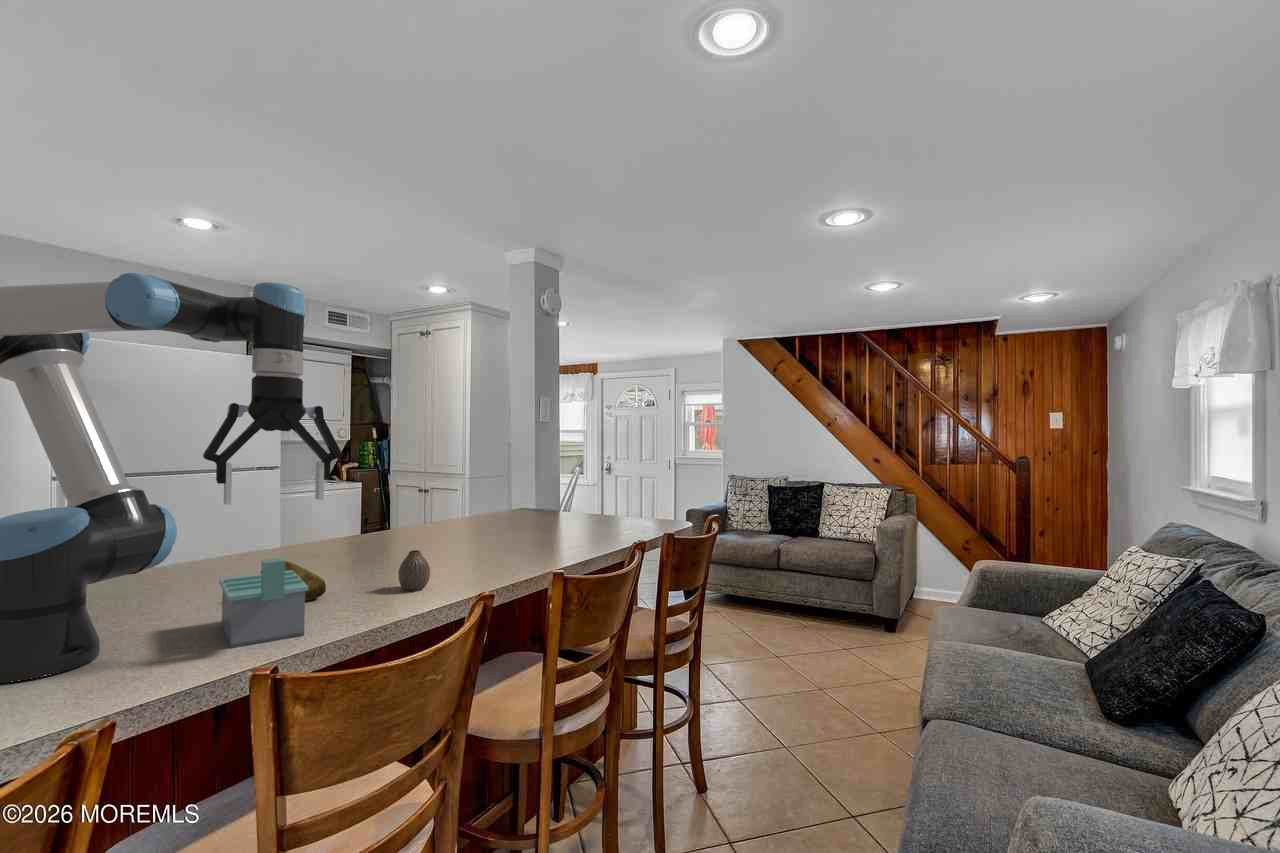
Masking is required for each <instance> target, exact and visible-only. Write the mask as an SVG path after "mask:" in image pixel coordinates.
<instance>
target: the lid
mask: <svg viewBox="0 0 1280 853" xmlns="http://www.w3.org/2000/svg"><path fill="white" fill-rule="evenodd" d="M285 561H286V560H285V559H284V558H283V557H277V558H267V559H261V567H260V568H261V571H260V573H261V574H260V573H256V574H248V575H247V574H246V575H238V576H230V577H229V576H228V577H220V578H219V581H218V582H219V586H220V587H221V589H223V591H224V593H225V595H226V597H227V599H228V601H234V600H241V599H249V598H256V597H260V598H261V600H262V601H267V600H274V599H281V598H283V597H284V594H286V593H294V592H301V591H308V586H307V585H306V584H305V583H304V582H303V581H302V580H301V579H300V578H299V576H298V575H297V574H296V573H295V572H294V571H293V570H289V571H285Z"/></svg>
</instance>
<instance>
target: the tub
mask: <svg viewBox="0 0 1280 853" xmlns="http://www.w3.org/2000/svg"><path fill="white" fill-rule="evenodd" d="M221 589H222V588H221ZM221 591H222V595H221V596H222V597H221V598H222V599H221V600H222V601H221V604H222V605H221V627H222V629H223V631H224V635H225V637H226V639H228V640H227V642H228V645H229V644H230V645H229V647H230V648H231V647H235V648H238V647H237V646H241V647H245V646H244V645H246V646H251V645H250V644H252V645H256V643H258V644H263V643H269V642H273V641H280V640H286V638H287V639H291V638H298V637H303V636H305V613H306V612H305V611H306V610H305V608H306V604H305V603H306V601H305V591H301V592H294V593H286V594H284V597H283V598H281V599H274V600H267V601H262V600H261V598H260V597H256V598H249V599H241V600H234V601H228V599H227V597H226V595H225V593H224V591H223V589H222V590H221Z"/></svg>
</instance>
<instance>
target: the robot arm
mask: <svg viewBox="0 0 1280 853" xmlns="http://www.w3.org/2000/svg"><path fill="white" fill-rule="evenodd" d="M305 316H306V312H305V295H304V292H303V291H302V290H301V289H300V288H299V287H296V286H294V285H290V284H286V283H279V282H269V281H267V282H265V281H264V282H260V283H258V282H257V283H256V284H255V285H254V286H253V293H252V296H225V295H224V296H223V295H219V294H216V293H212V292H209V291H205V290H201V289H198V288H194V287H190V286H187V285H184V284H180V283H177V282H173V281H169V280H165V279H163V278H159V277H158V276H155V275H149V274H140V273H137V272H136V273H135V272H126V273H121V274H120V275H119V276H118V277H116V278H114V279H113V280H111V281H97V282H94V281H93V282H77V283H75V282H73V283H52V284H51V283H50V284H31V285H29V284H28V285H26V284H25V285H5V286H0V378H2V379H5V380H7V381H11V382H14V384H15V387H16V389H17V391H18V393H19V396H20V398H21V399H22V402H23V404H24V407H25V409H26V411H27V413H28V416H29V418H30V420H31V422H32V425H33V427H34V429H35V432H36V434H37V436H38V438H39V441H40V443H41V445H42V447H43V450H44V452H45V454H46V455H47V456H46V457H47V459H48V461H49V463H50V465H51V468H52V470H53V472H54V474H55V477H56V479H57V481H58V484H59V485H60V488H61V490H62V493H63V495H64V497H65V499H66V501H67V505H66V506H63V507H50V508H45V509H34V510H28V511H24V512H23V511H22V512H19V513H14V514H10V515H7V516H3V517H0V683H2V684H7V683H6V682H11V681H18V680H25V679H31V678H36V677H41V676H44V675H49V674H54V673H58V672H62V671H65V672H67V671H66V670H68V671H71V670H74V669H77V668H80V667H81V666H84V664H85V665H87V664H88V662H89V663H91V662H92V661H94V660H95V659H97V658H98V657H97V656H98V655H100V654H99V653H101V652H100V650H101V649H100V647H101V646H100V644H101V642H100V637H99V636H98V632H97V630H96V628H95V626H94V624H93V621H92V618H91V617H90V614H89V611H88V609H87V587H88V585H91V584H95V583H100V582H103V581H107V580H111V579H115V578H119V577H123V576H128V575H129V576H130V575H136V574H139V573H141V572H143V571H146V570H149V569H152V568H155V567H156V566H158V565H160V564H161V563H162V562H164V561H165V560H166V559H167V558H169V555H170V554H171V553H172V551H173V546H174V545H175V544H176V540H177V534H178V533H177V530H178V529H177V523H176V520H175V518H174V516H173V514H172V513H171V512H170V511H169V509H167V508H166V507H162V505H159V504H156V503H150V502H149V500H148V498H147V496H146V493H145V490H144V489H142V488H140V487H136V486H134V485H131V484H130V483H129V481H128V479H127V477H126V474H125V472H124V470H123V467H122V465H121V463H120V461H119V458H118V457H117V455H116V452H115V450H114V447H113V446H112V443H111V441H110V439H109V437H108V435H107V432H106V430H105V428H104V426H103V423H102V420H101V419H100V416H99V414H98V412H97V410H96V407H95V405H94V404H93V402H92V399H91V396H90V394H89V392H88V390H87V388H86V385H85V383H84V381H83V379H82V377H81V374H80V373H79V369H80V367H81V366H82V364H83V363H84V361H85V359H84V356H85V355H86V353H87V351H88V349H89V346H90V345H89V344H88V343H87V341H90V333H105V332H107V333H108V332H124V331H125V332H128V331H129V332H130V331H139V332H140V331H142V332H143V331H144V332H145V331H165V332H170V333H178V334H181V335H182V334H183V335H187V336H189V337H190V338H192V339H193V340H196V341H201V342H202V341H203V342H211V343H220V342H252V354H251V355H252V356H251V359H252V361H251V372H252V373H253V374H255V376H253V377H252V378H251V397H250V398H251V399H250V400H251V401H250V404H248V405H244V404H238V403H237V402H232V403H230V404H228V408H227V415H226V417H225V419H224V420H223V422H222V423H221V425H220V427H219V428H218V430H217V431H216V433H215V434H214V437H212V440H211V442H210V443H209V444H208V446H207V448H206V449H205V451H204V452H203V454H202V457H203V459H205V460H206V461H210V462H213V463H215V466H216V470H215V475H216V476H215V477H216V478H215V480H216V483H217V484H219V485H221V484H223V504H224V505H225V506H227V505H232V484H233V483H232V480H233V478H232V476H233V464H232V463H230V462H229V463H228V461H229V460H230V459H231V458H232V457H234V455H235V454H236V453H238V451H239V450H240V449H241V448H242V447H243V446H244V445H245V444H246V443H247V442H248V441H249V440H250V439H251V438H252V437H254V435H256V433H259V431H260V430H263V431H265V432H274V431H280V432H290V431H291V430H292V431H293V432H294V433H296V434H297V435H298V437H299V438H300V439H301V440H302V441H303V442H304V443H305V444H306V445H307V446H308V447H309V449H311V450H312V452H313V453H314V454H315V455H316V456H317V457H318V458H319V459H320V461H316V462H315V485H314V486H315V487H314V488H315V491H314V492H315V493H314V496H315V500H318V501H320V500H321V501H322V500H324V488H325V481H329V480H330V478H331V463H332V461H334V460H337V459H341V458H342V457H343V453H342V451H341V449H340V447H339V444H338V443H337V441H336V439H335V437H334V435H333V433H332V432H331V429H330V428H329V426H328V423H327V422H326V420H325V416H324V408H323V407H322V406H321V405H316V406H315V405H314V406H312V407H311V406H310V407H305V406H304V404H303V403H304V402H303V401H304V400H303V397H304V396H303V393H304V392H303V391H304V390H303V389H304V388H303V387H304V381H303V380H302V378H300V376H303V375H304V331H305ZM245 413H248V415H249V416H250V417H251V418H252V419H253V421H252V422H251V423H250V424H249V425H248V426H247V427H246V429H244V431H243V432H241V434H239V436H238V437H236V439H234V440H233V441H232V442H231V443H230V444H229V445H228V446H227V447H226V448H225V449H224V450H223V451H222V452H221V453H220V454H217V453H218V451H219V448H221V446H222V444H223V443H224V441H225V439H226V438H227V436H228V435H229V433H230V432H231V429H232V428H233V426H234V425H235V423H236V422H237V419H238V418H241V417H243V416H244V414H245ZM305 415H308V418H309V419H311V420H313V422H314V425H315V426H316V428H317V430H318V432H319V433H320V436H321V438H322V440H323V442H324V443H325V445H326V447H327V449H328V451H329V453H328V452H327V451H326V450H325V448H324V447H322V445H321V444H320V443H319V442H318V441H317V440H316V439H315V438H314V436H313V435H312V434H311V433H309V431H308V430H307V429H306V427H305V426H304V425H303V424H302V423H301V422H300V421H301V420H302V419H303V417H304V416H305ZM96 657H97V658H96ZM93 659H94V660H93ZM90 661H91V662H90ZM86 663H87V664H86ZM79 666H80V667H79ZM76 667H77V668H76ZM73 668H74V669H73ZM70 669H71V670H70ZM62 673H63V672H62ZM58 674H59V673H58ZM54 675H55V674H54ZM41 678H42V677H41ZM31 680H32V679H31Z"/></svg>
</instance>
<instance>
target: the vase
mask: <svg viewBox="0 0 1280 853" xmlns="http://www.w3.org/2000/svg"><path fill="white" fill-rule="evenodd" d="M397 576H398V581H399V585H400V586H401V588H402V589H403V590H404V591H406V592H416V591H417V592H418V591H421V590H423V589H424V588H425V587H426V586H427V585H428V583H429V581H430V576H431V568H430V565H429V562H428V561H427V559H426V558H425V557H424V556H423V554H422V551H421V550H418V549H415V550H413V549H412V550H409V552H408V554H407V555H406V557H405V558H404V559H403V560H402V562H401V564H400V565H399V569H398V574H397Z"/></svg>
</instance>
